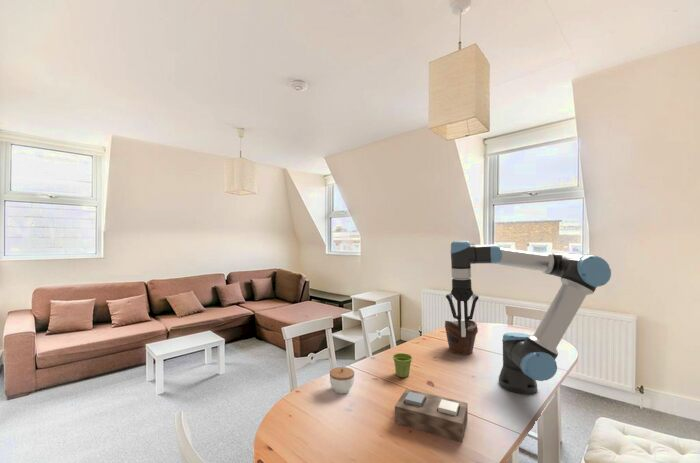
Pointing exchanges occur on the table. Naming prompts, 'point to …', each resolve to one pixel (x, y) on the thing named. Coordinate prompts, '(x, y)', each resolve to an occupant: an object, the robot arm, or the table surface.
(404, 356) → the plant pot
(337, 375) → the lidded jar
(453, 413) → the cream key
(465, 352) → the brown tapered cylinder
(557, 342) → the robot arm
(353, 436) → the table surface
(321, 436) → the table surface
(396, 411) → the key block
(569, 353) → the table surface
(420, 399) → the slate key
